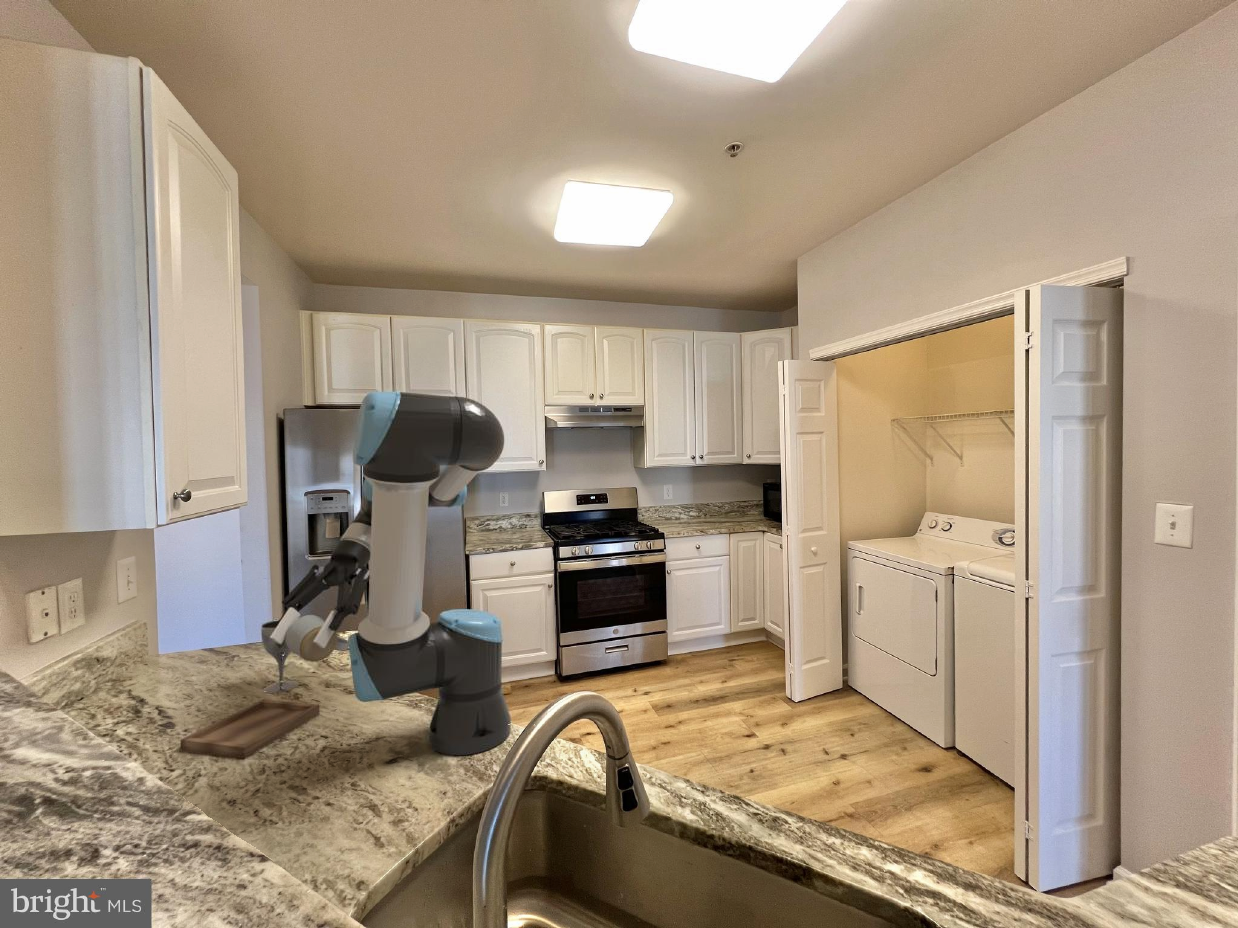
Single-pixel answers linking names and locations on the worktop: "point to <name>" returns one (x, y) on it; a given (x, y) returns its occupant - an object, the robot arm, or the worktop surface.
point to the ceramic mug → (311, 639)
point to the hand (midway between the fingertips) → (296, 642)
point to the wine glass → (276, 657)
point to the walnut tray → (250, 729)
